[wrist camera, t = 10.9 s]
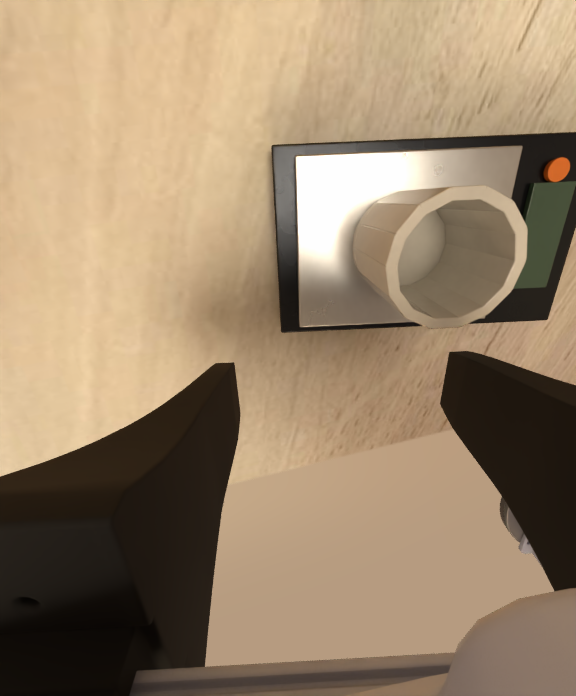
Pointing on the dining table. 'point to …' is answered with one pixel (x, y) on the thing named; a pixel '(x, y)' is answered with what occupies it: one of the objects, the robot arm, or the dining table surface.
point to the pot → (442, 252)
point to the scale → (400, 175)
